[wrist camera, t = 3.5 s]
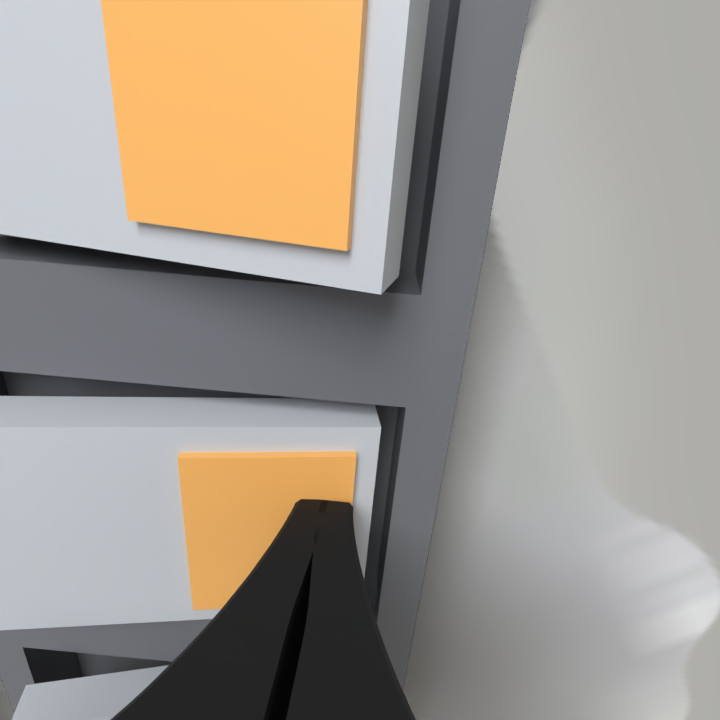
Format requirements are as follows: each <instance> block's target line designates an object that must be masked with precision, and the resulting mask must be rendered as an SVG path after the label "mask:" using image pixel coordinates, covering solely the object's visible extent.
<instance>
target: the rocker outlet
mask: <svg viewBox="0 0 720 720" xmlns="http://www.w3.org/2000/svg"><path fill="white" fill-rule="evenodd" d="M429 3H430V0H0V234H4V235H10V236H17V237H23V238H29V239H36V240H42V241H48V242H54V243H61V244H67V245H73V246H79V247H86V248H92V249H98V250H104V251H111V252H117V253H123V254H129V255H136V256H142V257H148V258H155V259H161V260H167V261H173V262H180V263H186V264H192V265H198V266H205V267H211V268H217V269H223V270H230V271H236V272H242V273H248V274H255V275H261V276H267V277H274V278H280V279H286V280H292V281H299V282H305V283H311V284H317V285H324V286H330V287H336V288H342V289H349V290H355V291H361V292H367V293H374V294H380V295H381V294H382V293H383V292H384V291H385V290H386V289H387V288H388V287H389V286H390V285H391V284H392V283H393V282H394V281H395V280H396V279H397V278H398V276H399V269H400V261H401V252H402V243H403V234H404V225H405V216H406V207H407V198H408V189H409V181H410V172H411V163H412V154H413V145H414V136H415V127H416V118H417V109H418V101H419V92H420V83H421V74H422V65H423V56H424V47H425V38H426V29H427V20H428V12H429Z"/></svg>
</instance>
